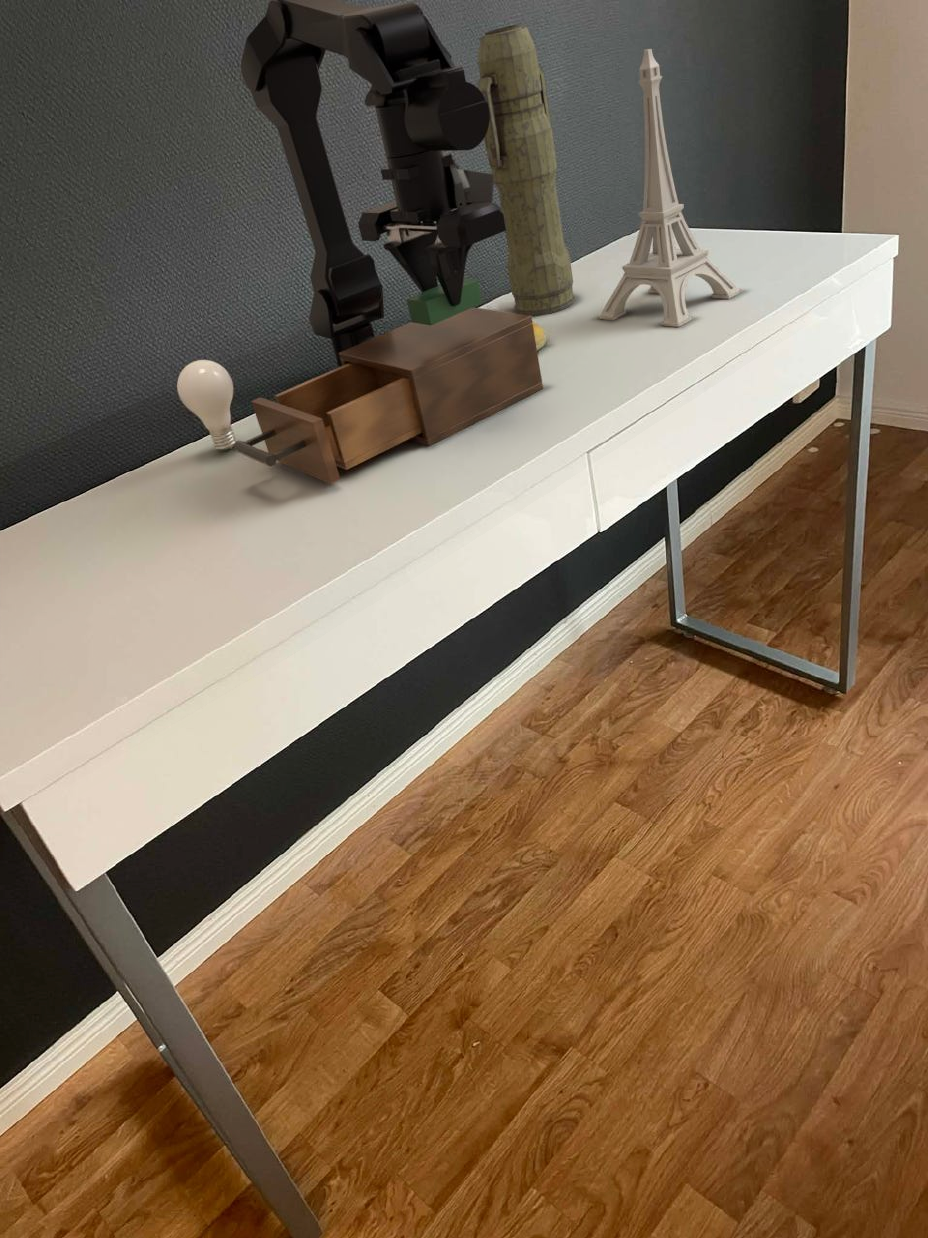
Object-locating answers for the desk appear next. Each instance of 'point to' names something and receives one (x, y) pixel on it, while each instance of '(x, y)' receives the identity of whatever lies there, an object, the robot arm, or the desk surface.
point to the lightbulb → (209, 399)
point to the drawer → (334, 421)
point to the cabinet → (458, 366)
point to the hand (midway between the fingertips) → (445, 303)
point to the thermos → (525, 170)
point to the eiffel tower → (663, 226)
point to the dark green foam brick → (442, 303)
